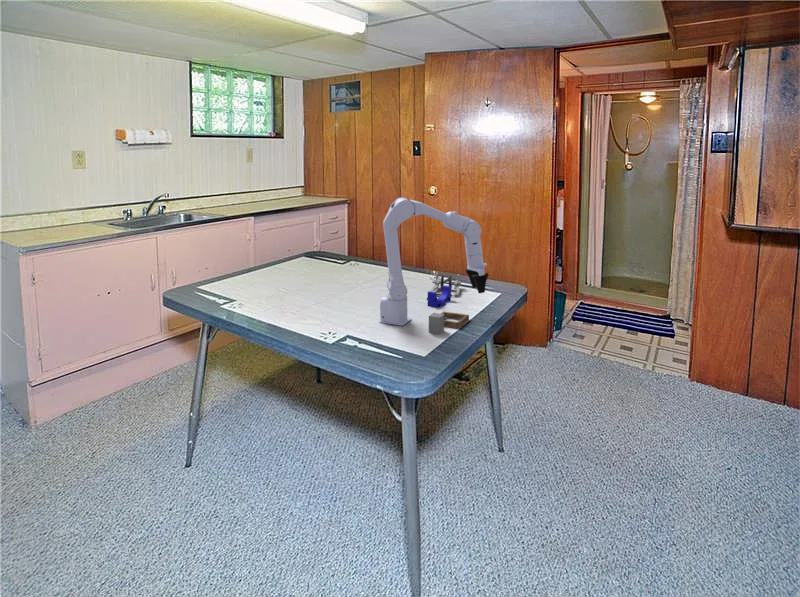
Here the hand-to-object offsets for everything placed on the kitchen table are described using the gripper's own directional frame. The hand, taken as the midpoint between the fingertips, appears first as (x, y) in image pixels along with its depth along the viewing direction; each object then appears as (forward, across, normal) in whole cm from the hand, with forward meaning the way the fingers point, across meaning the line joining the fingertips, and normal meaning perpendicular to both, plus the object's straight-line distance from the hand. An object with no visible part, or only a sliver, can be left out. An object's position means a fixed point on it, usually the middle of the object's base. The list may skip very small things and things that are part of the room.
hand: (478, 289), depth 194 cm
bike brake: (+10, +33, +6) cm, 35 cm away
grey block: (+8, -12, +20) cm, 24 cm away
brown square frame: (+9, -4, +12) cm, 16 cm away
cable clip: (+9, +20, +11) cm, 24 cm away
